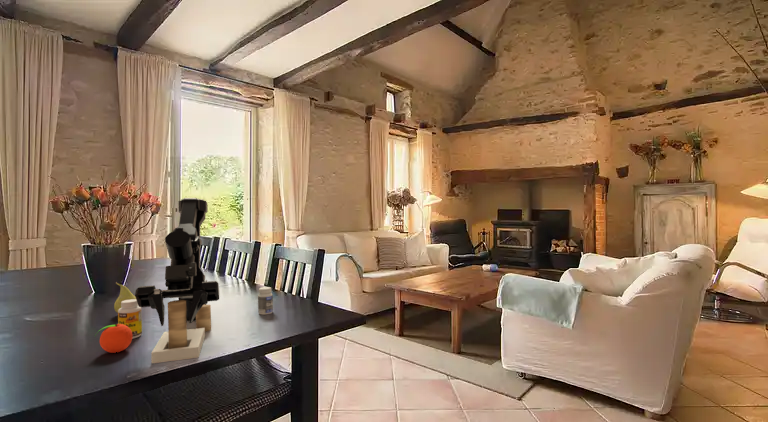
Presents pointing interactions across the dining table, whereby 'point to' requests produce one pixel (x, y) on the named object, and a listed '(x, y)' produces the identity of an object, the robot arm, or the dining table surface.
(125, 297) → the fruit
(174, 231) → the robot arm
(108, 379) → the dining table surface
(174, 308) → the long dowel
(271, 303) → the pill bottle
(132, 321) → the supplement bottle
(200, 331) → the hole plate
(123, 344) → the clementine
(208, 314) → the short dowel
